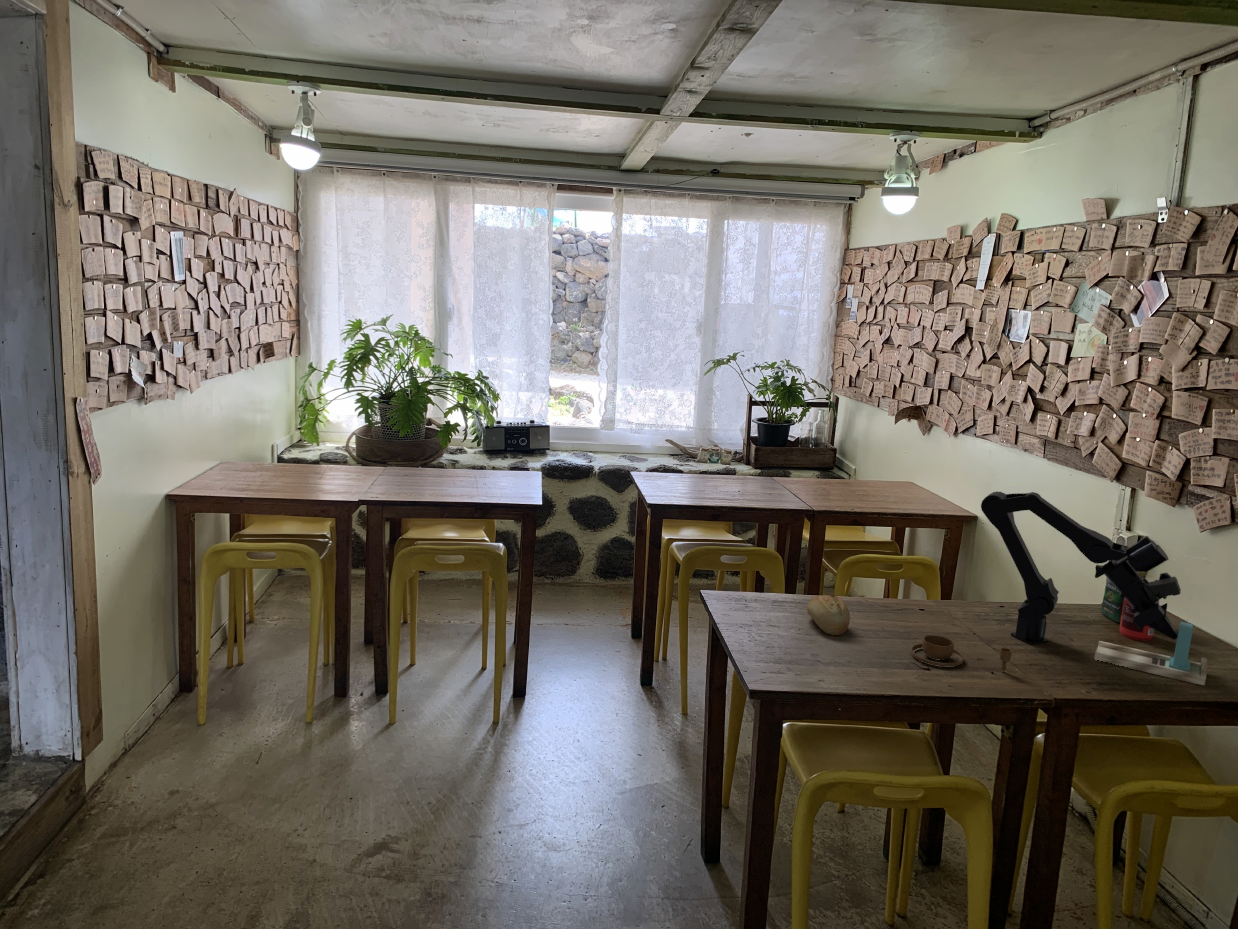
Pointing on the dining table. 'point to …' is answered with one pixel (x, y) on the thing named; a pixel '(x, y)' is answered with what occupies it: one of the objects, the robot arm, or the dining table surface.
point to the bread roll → (829, 614)
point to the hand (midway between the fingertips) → (1176, 638)
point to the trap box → (1150, 662)
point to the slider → (1182, 648)
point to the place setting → (949, 651)
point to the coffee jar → (1115, 599)
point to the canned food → (1133, 625)
